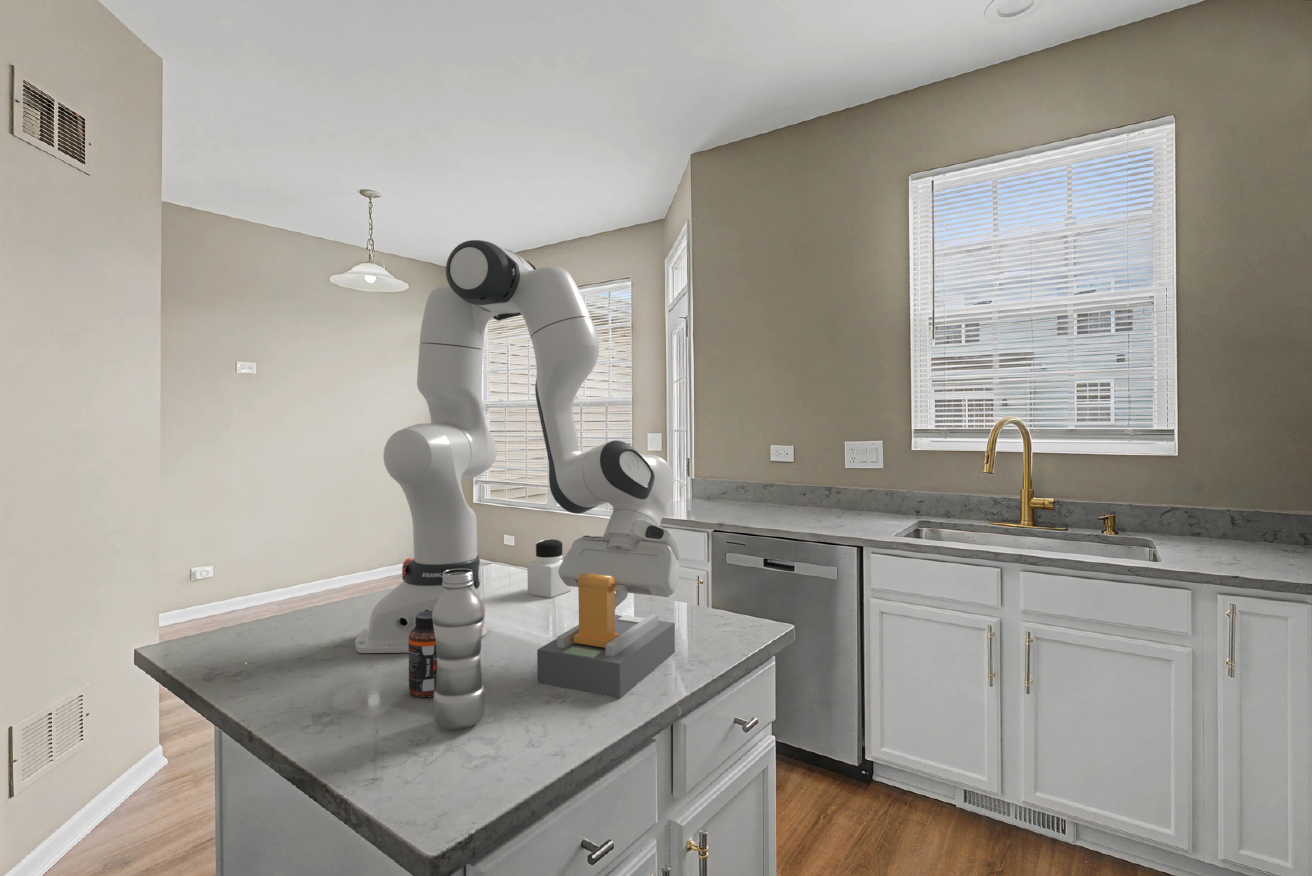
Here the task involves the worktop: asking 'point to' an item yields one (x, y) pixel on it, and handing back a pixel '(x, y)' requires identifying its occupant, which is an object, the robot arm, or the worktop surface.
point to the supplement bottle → (422, 656)
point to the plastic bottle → (458, 652)
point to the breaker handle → (596, 610)
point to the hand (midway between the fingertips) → (602, 612)
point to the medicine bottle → (546, 570)
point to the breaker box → (607, 657)
